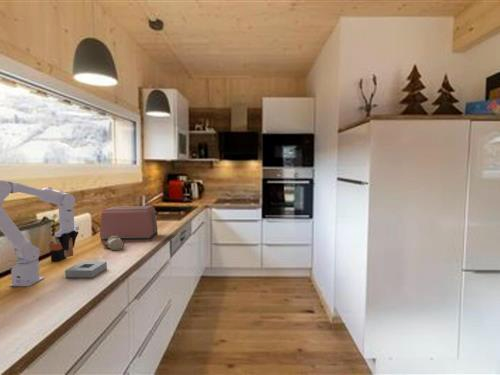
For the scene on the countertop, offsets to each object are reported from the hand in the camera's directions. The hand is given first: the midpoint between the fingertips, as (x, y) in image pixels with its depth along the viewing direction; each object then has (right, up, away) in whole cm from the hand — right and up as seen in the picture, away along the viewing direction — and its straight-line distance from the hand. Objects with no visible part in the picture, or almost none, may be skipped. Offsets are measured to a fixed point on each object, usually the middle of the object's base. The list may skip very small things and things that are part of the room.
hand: (68, 248), depth 144 cm
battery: (-16, -9, +18) cm, 26 cm away
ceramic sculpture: (+4, -8, +38) cm, 39 cm away
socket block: (+10, -10, -3) cm, 15 cm away
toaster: (+6, -6, +61) cm, 62 cm away
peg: (0, -3, 0) cm, 3 cm away
